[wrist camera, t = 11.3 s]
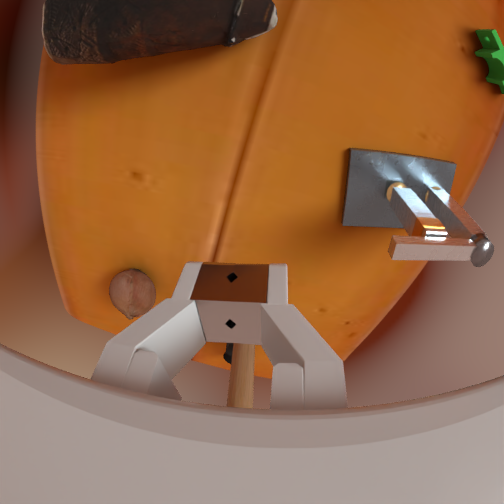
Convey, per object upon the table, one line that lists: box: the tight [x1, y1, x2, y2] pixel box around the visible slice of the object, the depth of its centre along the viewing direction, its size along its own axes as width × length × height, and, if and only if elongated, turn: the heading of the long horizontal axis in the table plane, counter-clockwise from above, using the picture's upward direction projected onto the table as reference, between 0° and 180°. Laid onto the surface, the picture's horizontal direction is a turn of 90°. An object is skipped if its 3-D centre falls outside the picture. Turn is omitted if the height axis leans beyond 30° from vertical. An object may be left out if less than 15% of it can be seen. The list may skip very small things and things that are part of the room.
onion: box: [109, 269, 156, 319], centre depth 50 cm, size 10×9×10 cm
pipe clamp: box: [475, 29, 504, 94], centre depth 20 cm, size 11×4×5 cm, turn 39°
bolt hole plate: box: [341, 148, 456, 228], centre depth 37 cm, size 12×18×1 cm, turn 92°
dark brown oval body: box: [42, 0, 277, 65], centre depth 20 cm, size 15×15×25 cm
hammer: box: [223, 343, 255, 408], centre depth 45 cm, size 20×5×30 cm, turn 163°
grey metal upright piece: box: [388, 188, 494, 267], centre depth 31 cm, size 4×15×15 cm, turn 92°
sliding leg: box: [389, 187, 447, 238], centre depth 32 cm, size 3×3×13 cm
